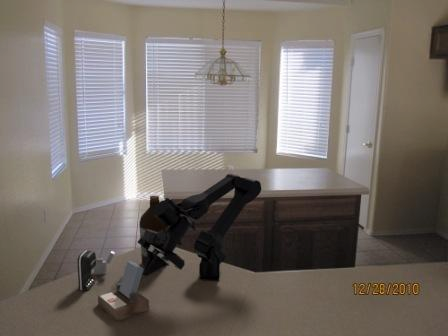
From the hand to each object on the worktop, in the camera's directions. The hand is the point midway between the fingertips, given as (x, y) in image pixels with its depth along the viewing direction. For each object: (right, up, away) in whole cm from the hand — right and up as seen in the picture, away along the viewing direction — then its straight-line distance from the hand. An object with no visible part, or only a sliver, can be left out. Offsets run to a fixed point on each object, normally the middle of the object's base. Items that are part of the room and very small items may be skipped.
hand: (143, 276), depth 136 cm
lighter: (-17, -4, +19) cm, 25 cm away
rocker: (-5, -5, -3) cm, 8 cm away
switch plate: (-8, -6, -6) cm, 11 cm away
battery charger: (-19, -6, +9) cm, 22 cm away
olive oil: (-1, -2, +28) cm, 28 cm away
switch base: (-5, -8, -2) cm, 10 cm away
